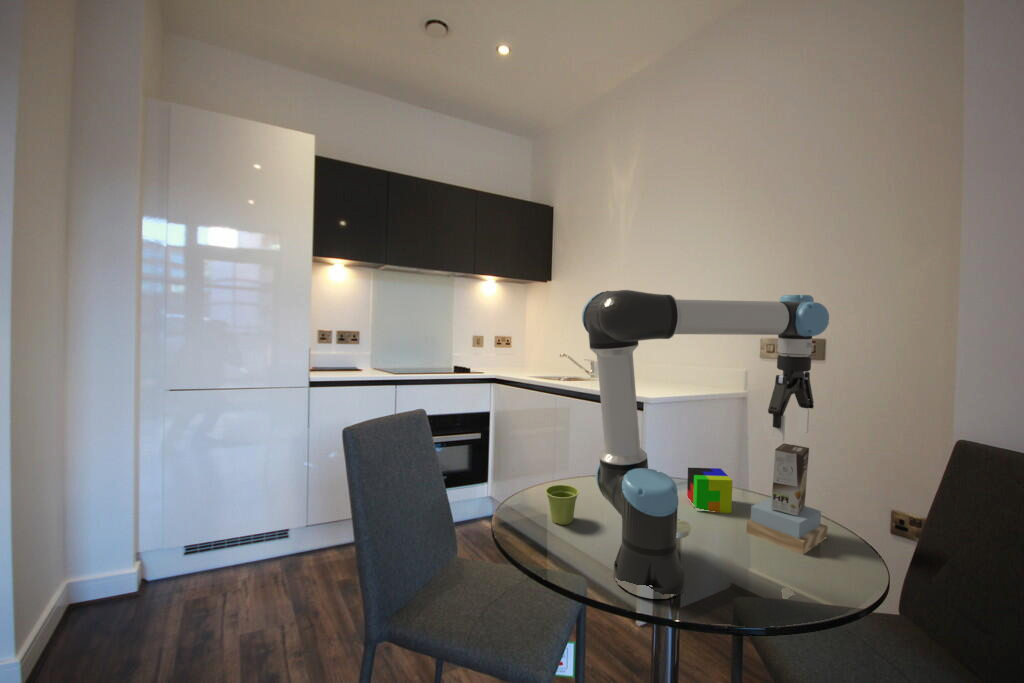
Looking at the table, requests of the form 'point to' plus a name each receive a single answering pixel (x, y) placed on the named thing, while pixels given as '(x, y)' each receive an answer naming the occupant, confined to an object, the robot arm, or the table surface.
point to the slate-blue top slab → (786, 519)
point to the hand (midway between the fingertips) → (790, 436)
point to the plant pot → (562, 503)
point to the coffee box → (790, 478)
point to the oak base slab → (788, 537)
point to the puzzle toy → (710, 489)
